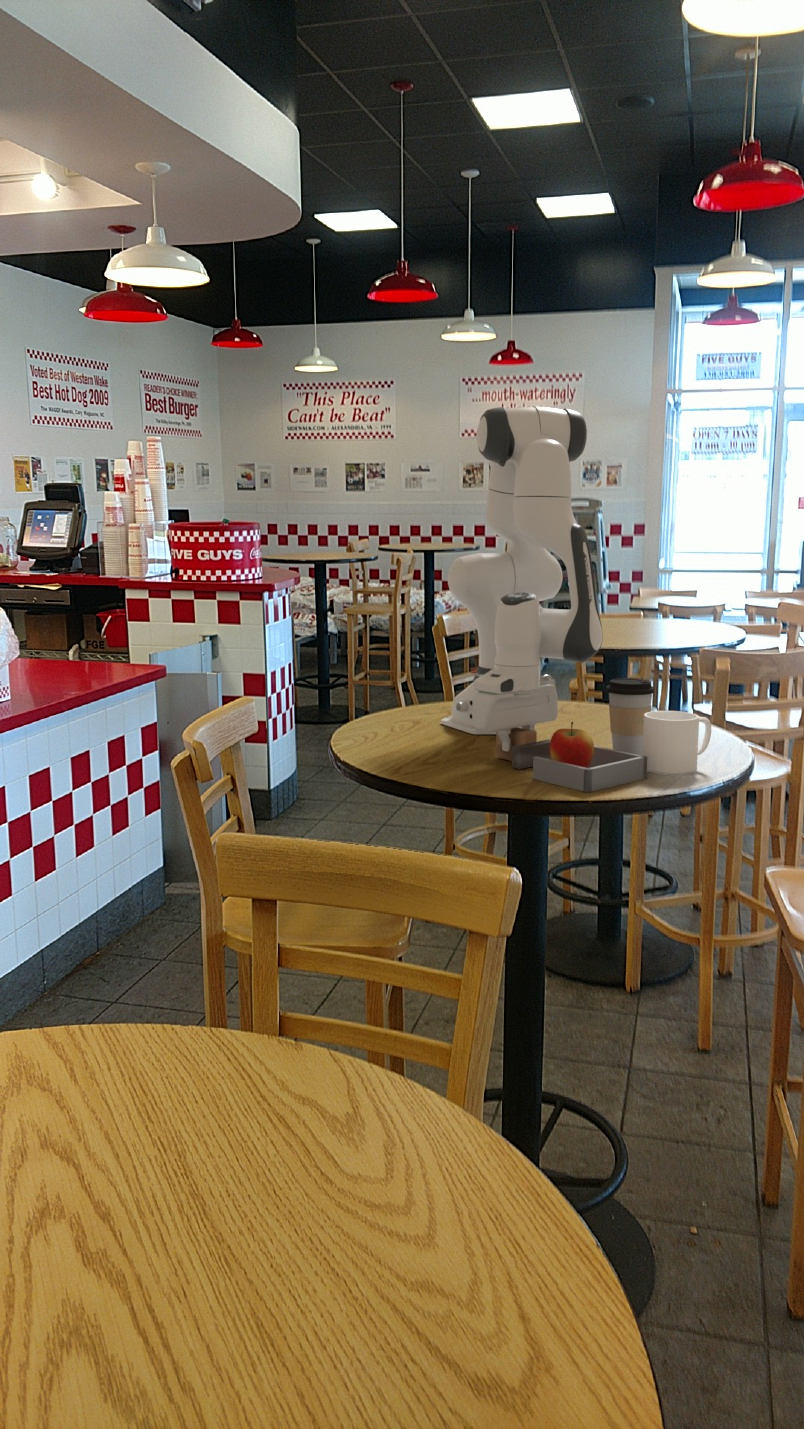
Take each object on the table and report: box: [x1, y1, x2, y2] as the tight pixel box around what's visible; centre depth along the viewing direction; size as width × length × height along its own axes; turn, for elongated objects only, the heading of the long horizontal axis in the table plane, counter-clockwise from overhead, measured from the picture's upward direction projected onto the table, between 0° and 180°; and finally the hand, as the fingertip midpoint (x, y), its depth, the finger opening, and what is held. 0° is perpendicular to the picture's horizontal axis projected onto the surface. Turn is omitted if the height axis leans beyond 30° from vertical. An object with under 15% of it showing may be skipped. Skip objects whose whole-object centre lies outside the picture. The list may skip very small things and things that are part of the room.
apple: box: [549, 721, 595, 768], centre depth 196 cm, size 8×8×10 cm
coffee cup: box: [605, 677, 656, 755], centre depth 210 cm, size 9×9×15 cm
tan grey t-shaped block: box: [495, 727, 551, 770], centre depth 206 cm, size 10×10×6 cm
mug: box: [642, 710, 712, 776], centre depth 199 cm, size 13×10×10 cm
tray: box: [532, 745, 648, 794], centre depth 193 cm, size 13×16×4 cm
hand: (515, 749), depth 207 cm, fingers closed on tan grey t-shaped block, 3 cm apart
